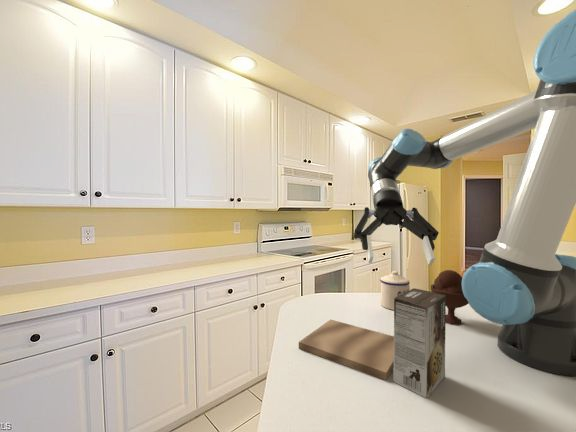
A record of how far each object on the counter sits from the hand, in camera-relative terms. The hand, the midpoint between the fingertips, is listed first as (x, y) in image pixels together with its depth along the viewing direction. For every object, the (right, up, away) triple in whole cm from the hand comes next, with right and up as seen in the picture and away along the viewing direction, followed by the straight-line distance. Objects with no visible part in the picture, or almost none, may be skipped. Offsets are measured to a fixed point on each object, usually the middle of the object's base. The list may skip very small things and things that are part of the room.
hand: (400, 261), depth 64 cm
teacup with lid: (+10, -20, +28) cm, 36 cm away
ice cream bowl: (+21, -20, +15) cm, 33 cm away
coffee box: (-1, -21, -12) cm, 24 cm away
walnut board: (-11, -20, 0) cm, 23 cm away
